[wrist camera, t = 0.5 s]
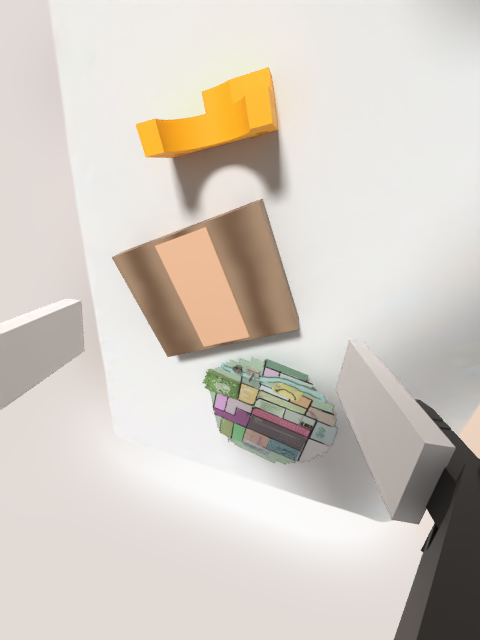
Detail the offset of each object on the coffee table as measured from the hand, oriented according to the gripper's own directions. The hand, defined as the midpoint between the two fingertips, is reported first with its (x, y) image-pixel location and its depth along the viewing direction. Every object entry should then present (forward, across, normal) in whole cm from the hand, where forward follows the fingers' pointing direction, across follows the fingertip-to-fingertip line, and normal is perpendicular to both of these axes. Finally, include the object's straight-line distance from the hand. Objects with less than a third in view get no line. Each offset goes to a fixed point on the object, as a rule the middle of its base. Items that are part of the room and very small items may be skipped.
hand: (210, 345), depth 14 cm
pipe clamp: (+22, -5, +15) cm, 27 cm away
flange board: (+25, -4, -3) cm, 26 cm away
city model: (+29, +6, -23) cm, 37 cm away
